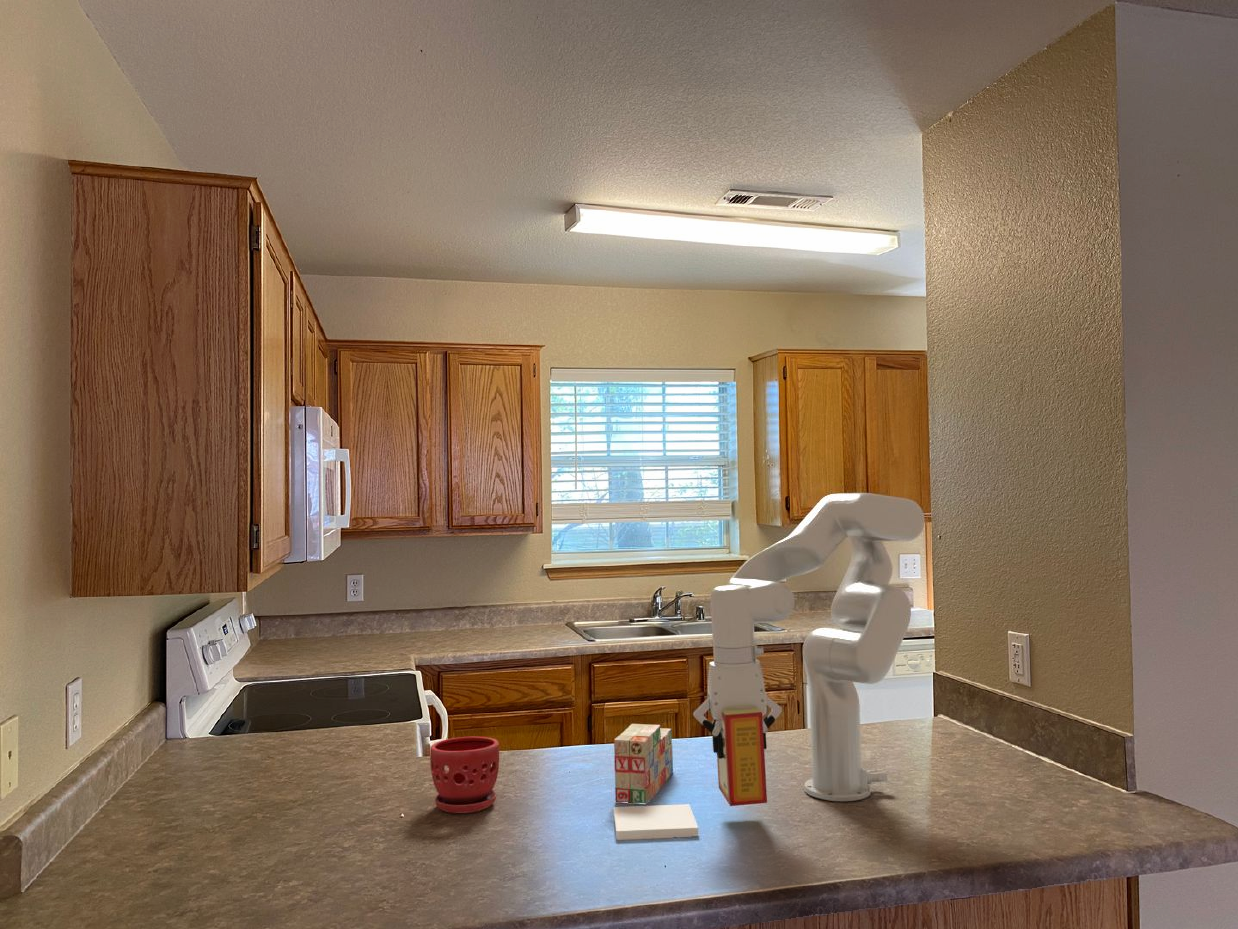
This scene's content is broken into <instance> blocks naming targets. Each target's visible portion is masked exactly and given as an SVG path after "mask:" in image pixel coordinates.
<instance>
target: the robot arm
mask: <svg viewBox="0 0 1238 929" xmlns="http://www.w3.org/2000/svg"><path fill="white" fill-rule="evenodd" d="M925 520H926V519H925V514H924V512H923V509H922V508H921V506H920V505H919V504H918V503H917V502H916V501H915V500H912V499H909V498H906V497H905V498H904V497H897V496H890V495H884V494H878V493H870V492H849V493H848V492H842V493H840V492H838V493H832V494H829V495H828V494H827V495H826V496H824V497H823V498H821V499H820V500H819V501H818V503H817V504H815V506H814V507H813V508H812V509H811V510H810V511H809V512H808V513H807V515H805V517H804V518H803V519H802V521H800V522H799V524H798V525H797V526H796V527H795V528H794V529H793V531H791V533H790V534H789V535H788V536H787V537H785V538H783V539H782V540H779V541H778V542H776V543H774V544H772V545H770V546H769V547H767V548H765V549H763V550H761V551H759V552H758V553H756V554H755V555H753V556H752V557H750V558H749V559H748V560H747V561H745V562H744V563H743V564H742V565H741V566H740V567H739V568H738V570H737V571H736V572H735V573H734V574H733V575H732V576H731V577H730V579H729V580H728V582H727V583H726V585H719V586H716V587H713V589H712V590H711V591H710V613H711V615H710V616H711V617H710V618H711V631H712V632H711V634H712V652H713V661H710V662H709V665H708V673H707V698H706V699H705V700H704V701H703V702H702V703H701V704H700V705H699V706H698V708H696V709H695V710H694V712H693V714H692V715H693V717H694V718H695V719H696V721H698V722H699V723H700V724H701V725H702V726H703V727H704V728H705V729H706V730H707V731H708V732H709V733H710V734H711V735H712V736H711V737H712V751H713V753H714V754H716V757H717V756H718V757H719V759H722V758H723V745H722V736H721V734H720V730H721V727H722V712H724V711H723V710H748V709H759V710H760V711H761V712H762V718H763V737H764V750H767V747H768V746H767V732H768V731H769V729H770V728H771V727H772V725H774V723H775V722H776V719H778V717H779V716H780V715H781V713H782V712H783V708H782V707H781V706H780V705H779V704H777V703H776V702H775V701H774V700H773V699H771V698H770V697H769V696H767V694H766V686H765V680H764V675H763V671H762V666H761V662H760V660H759V659H757V658H758V656H760V655H764V646H759V645H756V641H755V638H756V637H755V624H761V623H762V624H764V623H765V624H769V623H770V624H772V623H773V624H775V623H779V622H782V621H784V620H786V619H788V617H789V616H791V614H792V613H793V611H794V609H795V604H796V601H795V596H794V593H793V592H792V590H791V589H790V588H789V587H788V586H787V585H786V584H784V583H781V581H784V580H787V579H790V578H794V577H798V576H802V575H805V574H809V573H811V572H814V571H816V570H818V569H820V568H821V567H823V566H824V565H825V564H826V563H827V561H828V560H829V559H830V557H831V556H832V555H833V554H834V552H835V551H836V550H837V549H838V548H839V547H840V545H841V544H842V543H843V542H844V541H845V539H846V538H848V539H849V544H850V548H851V560H850V564H849V565H848V567H847V570H846V572H845V574H844V577H843V579H842V580H841V583H840V584H839V586H838V588H837V591H836V594H835V596H834V598H833V600H832V603H831V607H830V616H831V618H832V621H833V622H834V623H835V624H837V626H839V627H842V628H837V627H829V626H828V627H820V628H816V629H814V630H812V631H811V632H809V634H808V635H807V636H806V638H805V639H804V642H803V645H802V660H803V664H804V667H805V673H806V677H807V684H808V693H809V694H808V695H809V724H810V726H809V727H810V752H811V753H810V754H811V758H810V759H811V778H810V779H807V780H806V781H805V782H804V783H803V785H804V786H803V787H804V792H805V793H806V794H807V795H809V796H811V797H814V798H817V799H820V800H823V801H829V802H830V801H832V802H855V801H860V800H864V799H867V798H868V797H870V796H871V793H872V787H871V785H872V783H887V782H888V774H887V772H886V771H877V770H876V769H865V768H864V767H863V766H862V765H863V764H862V742H861V741H862V738H861V736H862V735H861V705H860V698H859V694H858V690H857V688H856V686H855V683H860V684H864V685H865V684H867V685H873V684H877V683H880V682H881V681H883V679H885V677H886V676H887V675H888V673H889V671H890V669H891V667H892V666H893V663H894V661H895V658H896V656H897V654H898V652H899V650H900V647H901V645H902V643H903V640H904V639H905V635H906V633H907V631H908V628H909V625H910V623H911V616H912V607H911V606H912V605H911V602H910V598H909V597H908V595H907V593H906V592H905V591H904V590H903V589H902V588H900V587H897V586H895V585H891V584H889V583H890V581H891V578H892V576H893V570H894V569H893V563H892V559H891V558H890V555H889V553H888V551H887V548H886V547H885V546H886V545H885V544H884V542H901V543H903V542H910V541H914V540H916V539H917V538H918V537H919V536H920V535H921V534H922V532H923V531H924V527H925V522H926V521H925ZM767 706H768V707H769V708H770V709H771V710H770V712H769V714H767V712H768V708H767ZM707 711H708V714H710V715H711V717H712V719H713V720H712V722H711V721H710V720H708V719H707V718H706V717H705V714H706V713H707ZM764 717H765V718H764Z"/></svg>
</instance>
